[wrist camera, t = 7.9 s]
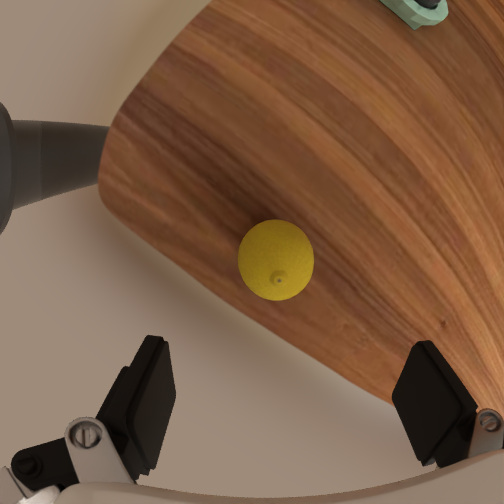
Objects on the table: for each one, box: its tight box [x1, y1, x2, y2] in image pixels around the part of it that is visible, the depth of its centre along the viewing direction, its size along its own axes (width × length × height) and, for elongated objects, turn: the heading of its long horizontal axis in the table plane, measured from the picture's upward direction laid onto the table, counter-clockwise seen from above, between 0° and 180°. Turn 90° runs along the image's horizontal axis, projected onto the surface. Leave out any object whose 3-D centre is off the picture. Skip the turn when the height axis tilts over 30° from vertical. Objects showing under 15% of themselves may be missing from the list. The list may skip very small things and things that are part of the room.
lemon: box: [238, 220, 314, 300], centre depth 21 cm, size 6×6×8 cm
